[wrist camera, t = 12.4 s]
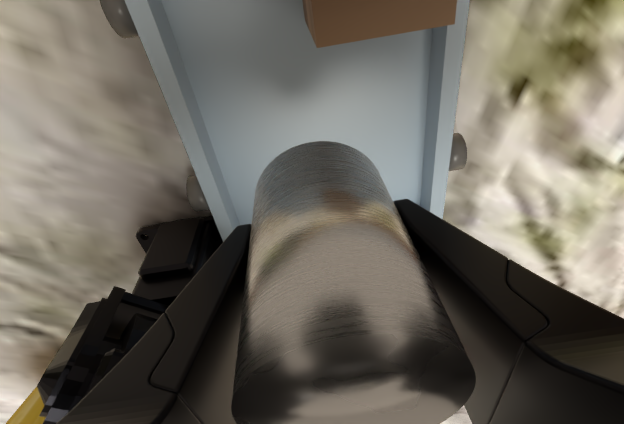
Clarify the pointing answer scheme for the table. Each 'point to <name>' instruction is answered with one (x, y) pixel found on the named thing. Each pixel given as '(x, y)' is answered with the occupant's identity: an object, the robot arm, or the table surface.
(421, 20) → the walnut block
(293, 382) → the shiny metal cylinder
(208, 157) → the cart
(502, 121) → the table surface
